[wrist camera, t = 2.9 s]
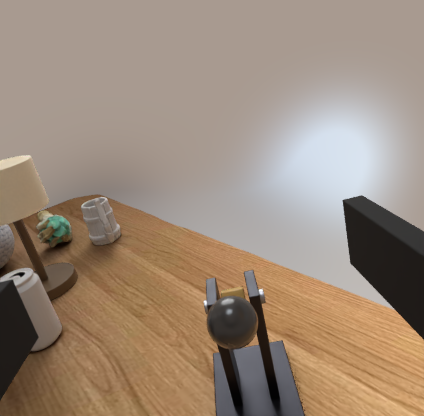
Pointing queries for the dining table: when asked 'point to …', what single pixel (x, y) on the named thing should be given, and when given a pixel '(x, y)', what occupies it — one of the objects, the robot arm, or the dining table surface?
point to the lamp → (25, 206)
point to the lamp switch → (232, 320)
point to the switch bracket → (253, 368)
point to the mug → (100, 221)
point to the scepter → (53, 228)
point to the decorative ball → (6, 244)
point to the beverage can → (36, 306)
